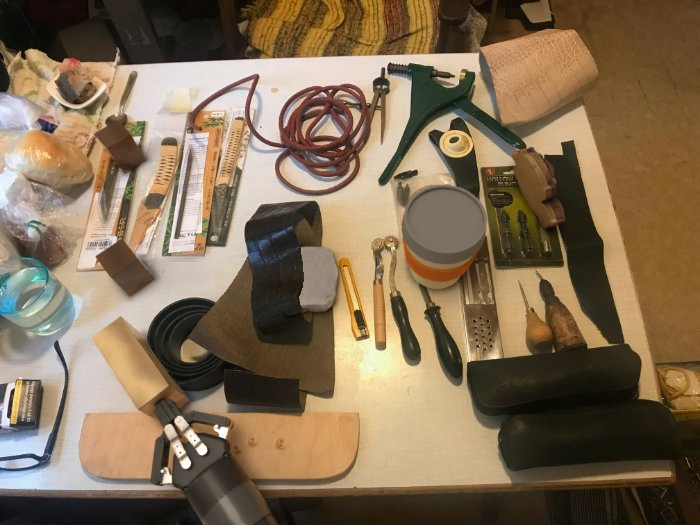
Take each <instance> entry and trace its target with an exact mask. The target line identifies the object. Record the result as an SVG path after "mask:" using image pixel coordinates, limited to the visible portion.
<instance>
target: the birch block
mask: <svg viewBox="0 0 700 525" xmlns="http://www.w3.org/2000/svg"><path fill="white" fill-rule="evenodd" d="M90 339H91V340H92V341H93V343H94V344H95V347H97V349H98V351H99V352H100V354H101V356H102V358H103V359H104V360H105V362H106V363H107V365H108V366H109V368H110V370H111V371H112V372H113V374H114V375H115V377H116V379H117V380H118V382H119V383H120V385H121V387H122V388H123V389H124V391H125V392H126V394H127V396H128V397H129V398H130V400H131V402H132V403H133V405H134V407H135V408H136V409H137V410H138V411H139V412H142V413H143V414H145V415H147V416H149V417H150V418H153V419H154V420H156V421H158V422H159V420H158V419H157V417H156V416H155V414H154V409H155V408H156V407H155V405H154V404H156V403H157V402H158V401H159V400H161V399H162V398H165V399H166V400H167V399H168V398H169V399H171V400H172V401H174V402H175V403H176V404H177V406H178V407H179V409H180V410H181V409H182V407H184V406H185V405H186V404H187V403H188V402H190V399H189V397H188V396H187V395H186V393H185V391H184V390H183V388H181V386H180V385H179V384H178V382H177V384H176V383H175V382H174V381H173V379H172V378H171V376H170V375H169V374H168V372H167V371H166V369H165V368H164V366H163V365H162V364H161V362H160V361H159V359H158V358H157V357H156V355H155V354H154V352H153V351H152V349H151V348H150V347H149V345H148V342H149V341H148V339H147V338H146V336H144V335H143V334H142V333H141V332H140V331H139V330H137V329H136V328H135V327H134V326H133V325H132V324H131V323H130V322H128V321H127V320H126V319H125V318H124V317H122V315H121V316H119V317H117V318H116V319H114V320H113V321H112V322H110V323H109V324H108V325H106V326H105V327H103V328H102V329H101V330H99V331H97V332H96V333H95V334H94V335H92V336H91V337H90Z"/></svg>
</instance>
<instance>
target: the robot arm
mask: <svg viewBox="0 0 700 525" xmlns="http://www.w3.org/2000/svg"><path fill="white" fill-rule="evenodd" d="M154 405H155V407H156V408H155V409H154V414H155V416H156V417H157V419H158V420H159V421H158V420H157V421H158V422H159V423H160V425H161V426H162V428H163V431H162V433H161V435H160V436H158V437H156V438H155V441H154V448H153V456H152V463H151V464H152V465H151V470H150V471H151V473H150V484H151V485H155V486H157V487H163V486H165V485H172V486H173V487H174V488H175V489H177V490H179V491H181V492H182V493H183V496H184V497H185V498H186V500H187V502H188V503H189V505H190V506H191V507H192V509H193V511H194V512H195V514H196V515H197V517H198V519H199V520H200V522H201V523H202V525H281V524H280V523H279V521H278V519H277V518H276V517H275V516H274V514H273V512H272V511H271V510H270V507H269V506H268V504H267V502H266V500H265V498H264V497H263V495H262V493H261V492H260V490H259V487H258V486H257V485H256V484H254V482H253V481H252V479H251V478H250V477H249V475H248V474H247V472H246V471H245V470H244V468H243V467H242V465H241V464H240V463H239V462H238V460H237V459H236V457H235V455H234V454H233V452H232V450H231V444H230V442H229V440H228V438H229V434H230V431H231V430H233V428H234V427H235V422H234V421H233V420H232V419H230V418H229V417H228V416H223V415H218V414H213V413H208V412H203V411H197V410H190V411H189V412H188V413H185V414H184V413H183V412H182V410H181V408H180V409H179V407H178V406H177V404H176V403H175V402H174V401H172V400H171V399H169V398H168V399H167V400H166V399H165V398H162V399H161V400H159V401H158V402H157V403H156V404H154ZM194 424H200V425H205V426H209V427H213V431H214V432H216V433H218V435H214V434H210V433H208V432H207V433H206V432H199V430H197V429H196V428H195V427H194V426H193V425H194ZM181 432H182V433H181ZM184 437H185V438H186V440H185V438H184ZM171 449H173V452H174V454H173V456H172V457H173V458H172V469H171V468H169V461H170V460H169V459H170V451H171Z"/></svg>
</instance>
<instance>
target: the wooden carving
mask: <svg viewBox="0 0 700 525" xmlns="http://www.w3.org/2000/svg"><path fill="white" fill-rule="evenodd" d="M511 157H512V158H511V159H512V160H513V162H514V164H515V166H513V167H512V168H513V172H514V176H515V178H516V182H517V184H518V187H519V189H520V191H521V193H522V195H523V198H524V199H525V201H526V203H527V205H528V206H529V208H530V210H531V211H532V212H533V213H534V214H535V215H536V216H537V219H538V221H539V223H540V225H541V227H542V229H544V230H547V229H549V228H552V227H555V226H561V225H562V224H565V222H566V216H565V215H566V214H565V210H564V207H563V205H562V203H561V201H560V200H559V199H558V198H556V196H557V186H556V185H557V180H556V178H555V175H556V174H555V168H554V165H553V164H552V163H551V162H549V160H547V159H545V158H544V156H543V154H542V153H540V152H538V151H537V150H536V149H535V147H533V146H529V147H528V148H521V149H518V150H513V151H512V152H511Z"/></svg>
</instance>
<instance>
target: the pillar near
mask: <svg viewBox="0 0 700 525" xmlns="http://www.w3.org/2000/svg"><path fill="white" fill-rule="evenodd" d="M95 258H96V260H97V261H98V263H99V264H100V265H101V267H102V268H103V269H104V271H105V272H106V273H107V275H108V276H109V278H110V279H112V280H113V281H114V282H115V284H116V285H117V286H119V288H121V290H123V291H124V292H125V293H126V294H127V295H128V296H129V297H132V296H133V295H135V294H136V293H138V292H139V291H140V290H142V289H143V288H145V287H146V286H149V284H151V283H152V282H154V281H155V280H156V278H155V277H154V275H153V274H152V273H151V272H150V270H149V269H148V267H147V266H146V265H145V264H144V262H143V261H142V259H141V258H139V256H138V255H137V254H136V253H135V252H134V251H133V249H132V248H131V247H130V246H129V245H128V243H127V242H126V241H125V240H124V239H123V238H121V239H119V240H117V241H116V242H115V243H113V244H111V245H110V246H109V247H107V248H106V249H103V250H102V251H101V252H100V253H98V254H96V255H95Z"/></svg>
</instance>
